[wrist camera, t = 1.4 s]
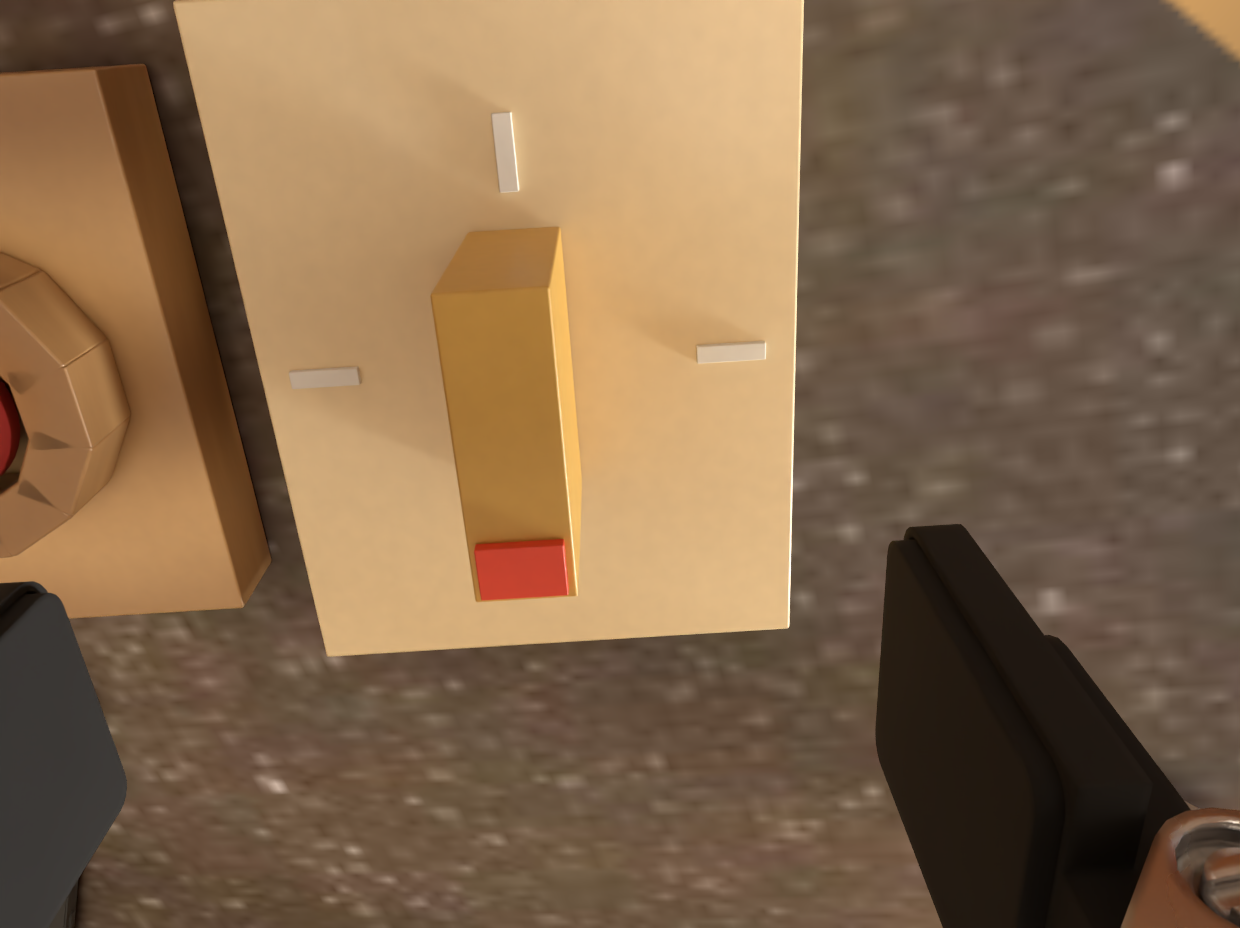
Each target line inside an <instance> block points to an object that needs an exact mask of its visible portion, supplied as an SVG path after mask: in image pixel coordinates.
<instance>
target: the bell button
mask: <svg viewBox="0 0 1240 928" xmlns="http://www.w3.org/2000/svg"><path fill="white" fill-rule="evenodd" d="M19 441H20V423H19V416H18V413H17V409H16V406H15V404H14V401H13V399H12V397H11V394H10V393H9V391H8V389H7V388H6V386H5V384H4V383H3V382H2V380H1V379H0V477H1V476H2V475H3V474H4V473H5V472H6V471H7V469H8V468H9V467H10V466H11V464H12V462H13V460H14V459H15V456H16V453H17V450H18V447H19Z"/></svg>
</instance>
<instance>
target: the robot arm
mask: <svg viewBox="0 0 1240 928" xmlns="http://www.w3.org/2000/svg"><path fill="white" fill-rule="evenodd" d="M876 746H877V752H878V757H879V761H880V764H881V767H882V769H883V772H884V775H885V777H886V780H887V782H888V785H889V788H890V790H891V793H892V796H893V798H894V801H895V803H896V806H897V809H898V811H899V814H900V816H901V819H902V822H903V824H904V827H905V830H906V832H907V835H908V837H909V840H910V843H911V845H912V848H913V850H914V853H915V856H916V858H917V861H918V863H919V866H920V869H921V871H922V874H923V877H924V879H925V882H926V884H927V887H928V890H929V892H930V895H931V897H932V900H933V903H934V905H935V908H936V911H937V913H938V916H939V918H940V921H941V924H942V926H943V928H1240V810H1230V809H1220V808H1205V809H1197V810H1191V809H1190V808H1189V806H1188V805H1187V804H1186V802H1185V801H1184V800H1183V798H1182V797H1181V796H1180V795H1179V793H1178V792H1177V791H1176V789H1175V788H1174V787H1173V785H1172V784H1171V783H1170V781H1169V780H1168V779H1167V777H1166V776H1165V775H1164V773H1163V772H1162V771H1161V770H1160V768H1159V767H1158V766H1157V764H1156V763H1155V762H1154V760H1153V759H1152V758H1151V756H1150V755H1149V754H1148V752H1147V751H1146V750H1145V749H1144V747H1143V746H1142V745H1141V743H1140V742H1139V741H1138V739H1137V738H1136V737H1135V735H1134V734H1133V733H1132V731H1131V730H1130V729H1129V727H1128V726H1127V725H1126V724H1125V722H1124V721H1123V720H1122V718H1121V717H1120V716H1119V714H1118V713H1117V712H1116V710H1115V709H1114V708H1113V706H1112V705H1111V704H1110V702H1109V701H1108V700H1107V699H1106V697H1105V696H1104V695H1103V693H1102V692H1101V691H1100V689H1099V688H1098V687H1097V685H1096V684H1095V683H1094V681H1093V680H1092V679H1091V677H1090V676H1089V675H1088V674H1087V672H1086V671H1085V670H1084V668H1083V667H1082V666H1081V664H1080V663H1079V662H1078V660H1077V659H1076V658H1075V656H1074V655H1073V654H1072V652H1071V651H1070V650H1069V649H1068V647H1067V646H1066V645H1065V644H1064V643H1063V642H1062V641H1061V640H1060V639H1059V638H1057V637H1054V636H1051V635H1045V636H1044V634H1043V633H1042V632H1041V630H1040V629H1039V628H1038V626H1037V625H1036V624H1035V622H1034V621H1033V619H1032V618H1031V617H1030V615H1029V614H1028V613H1027V611H1026V610H1025V609H1024V607H1023V606H1022V605H1021V603H1020V602H1019V600H1018V599H1017V598H1016V596H1015V595H1014V594H1013V592H1012V591H1011V590H1010V588H1009V587H1008V586H1007V584H1006V583H1005V581H1004V580H1003V579H1002V577H1001V576H1000V575H999V573H998V572H997V571H996V569H995V568H994V566H993V565H992V564H991V562H990V561H989V560H988V558H987V557H986V556H985V554H984V553H983V552H982V550H981V549H980V547H979V546H978V545H977V543H976V542H975V541H974V539H973V538H972V537H971V535H970V534H969V533H968V531H967V530H966V528H964V527H963V526H962V525H961V524H952V525H936V526H920V527H909V528H908V529H907V530H906V533H905V536H904V540H900V541H892V542H891V543H890V545H889V548H888V555H887V569H886V583H885V598H884V613H883V628H882V642H881V657H880V672H879V686H878V701H877V716H876ZM126 790H127V780H126V776H125V772H124V769H123V766H122V764H121V761H120V758H119V756H118V753H117V750H116V747H115V745H114V742H113V739H112V736H111V734H110V731H109V728H108V725H107V723H106V720H105V717H104V714H103V712H102V709H101V706H100V703H99V701H98V698H97V695H96V692H95V690H94V687H93V684H92V681H91V679H90V676H89V673H88V670H87V668H86V665H85V662H84V659H83V657H82V654H81V651H80V648H79V646H78V643H77V640H76V638H75V635H74V632H73V629H72V627H71V624H70V621H69V618H68V616H67V613H66V610H65V607H64V605H63V603H62V601H61V599H60V598H59V597H58V596H57V595H56V594H53V593H48V592H47V590H46V589H45V588H44V587H43V586H42V585H41V584H39V583H37V582H34V581H27V582H11V583H0V928H48V927H49V925H50V924H51V922H52V921H53V919H54V917H55V916H56V914H57V913H58V911H59V909H60V908H61V906H62V904H63V903H64V901H65V900H66V898H67V896H68V895H69V893H70V892H71V890H72V888H73V887H74V885H75V883H76V882H77V880H78V879H79V877H80V875H81V874H82V872H83V870H84V869H85V867H86V866H87V864H88V862H89V861H90V859H91V858H92V856H93V854H94V853H95V851H96V849H97V848H98V846H99V845H100V843H101V841H102V840H103V838H104V837H105V835H106V833H107V832H108V830H109V828H110V827H111V825H112V824H113V822H114V820H115V819H116V817H117V816H118V814H119V812H120V811H121V808H122V806H123V804H124V801H125V797H126Z"/></svg>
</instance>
